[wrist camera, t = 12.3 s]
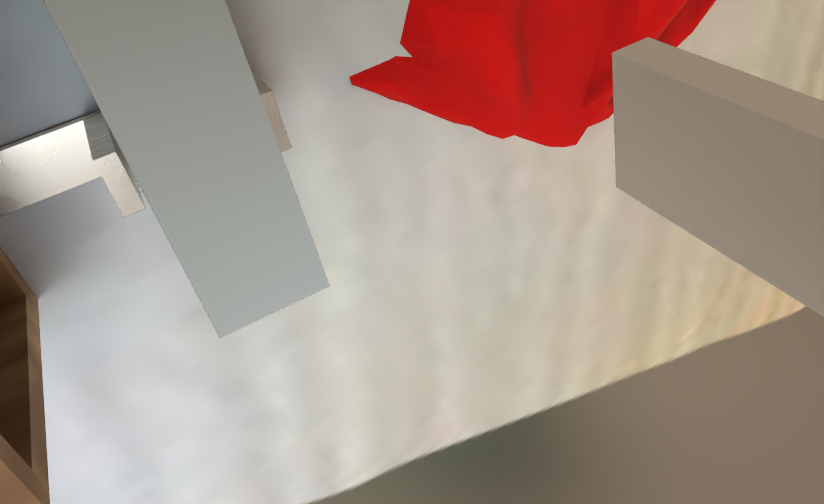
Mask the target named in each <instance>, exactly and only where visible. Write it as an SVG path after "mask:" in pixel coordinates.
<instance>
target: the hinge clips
mask: <svg viewBox="0 0 824 504" xmlns="http://www.w3.org/2000/svg"><path fill="white" fill-rule="evenodd" d="M250 69H251V68H250ZM251 72H252V75H253V78H254V80H255V83H256V86H257V89H258V91H259V94H260V97H261V100H262V102H263V105H264V108H265V110H266V113H267V116H268V119H269V121H270V124H271V127H272V130H273V132H274V135H275V138H276V140H277V143H278V146H279V149H280V151H281V152H283V151H285V150H288V149H290V148H292V147H291V144H290V142H289V139H288V136H287V133H286V130H285V127H284V125H283V122H282V119H281V116H280V113H279V111H278V108H277V105H276V102H275V99H274V96H273V94H272V91H271V90H270V89H269V88H268V87H267V85H266V84H265V83H264V82H263V81H262V80H261V79H260V78H259V77H258V76H257V75H256V73H255V72H254V71H253V70H252V69H251ZM99 177H102V179H103V180H104V182H105V184H106V186H107V187H108V189H109V191H110V193H111V195H112V196H113V198H114V200H115V202H116V204H117V205H118V207H119V209H120V211H121V213H122V214H123V216H124V217H126V216H128V215H131V214H133V213H136V212H138V211H140V210H143V209H145V205H144V202H143V200H142V197H141V194H140V191H139V188H138V185H137V182H136V179H135V176H134V173H133V171H132V170H131V168H130V166H129V164H128V162H127V160H126V158H125V156H124V154H123V152H122V150H121V149H120V147H119V145H118V143H117V141H116V139H115V137H114V135H113V133H112V131H111V129H110V128H109V126H108V124H107V122H106V120H105V118H104V116H103V114H102V112H101V110H99V111H96V112H93V113H91V114H88V115H85V116H83V117H80V118H77V119H75V120H72V121H69V122H67V123H64V124H61V125H59V126H56V127H53V128H51V129H48V130H45V131H43V132H40V133H37V134H35V135H32V136H29V137H27V138H24V139H21V140H19V141H16V142H13V143H11V144H8V145H5V146H3V147H0V217H1V216H3V215H6V214H8V213H11V212H13V211H16V210H18V209H21V208H23V207H26V206H28V205H31V204H33V203H36V202H38V201H41V200H44V199H46V198H49V197H51V196H54V195H56V194H59V193H61V192H64V191H66V190H69V189H71V188H74V187H76V186H79V185H81V184H84V183H86V182H89V181H91V180H94V179H96V178H99Z"/></svg>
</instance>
